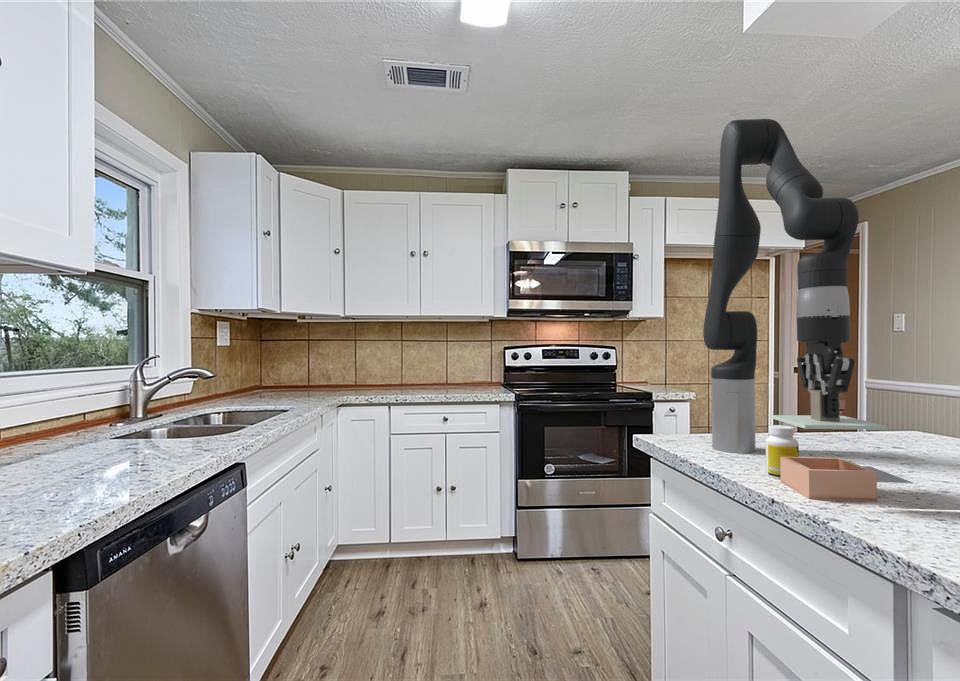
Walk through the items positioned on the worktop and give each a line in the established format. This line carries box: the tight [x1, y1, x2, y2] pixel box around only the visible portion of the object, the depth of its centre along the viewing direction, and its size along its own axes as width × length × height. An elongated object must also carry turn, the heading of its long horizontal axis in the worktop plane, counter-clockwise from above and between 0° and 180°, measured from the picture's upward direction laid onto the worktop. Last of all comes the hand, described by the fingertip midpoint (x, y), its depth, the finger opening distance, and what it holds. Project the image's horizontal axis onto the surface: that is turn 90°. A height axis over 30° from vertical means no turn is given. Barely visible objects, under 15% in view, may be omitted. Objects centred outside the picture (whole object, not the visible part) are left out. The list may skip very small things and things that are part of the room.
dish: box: [780, 456, 878, 502], centre depth 85 cm, size 10×10×5 cm
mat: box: [863, 465, 914, 484], centre depth 96 cm, size 12×12×1 cm
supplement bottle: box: [765, 424, 800, 481], centre depth 95 cm, size 5×5×10 cm
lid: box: [771, 390, 889, 431], centre depth 85 cm, size 12×12×6 cm
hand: (824, 415), depth 85 cm, fingers closed on lid, 3 cm apart
